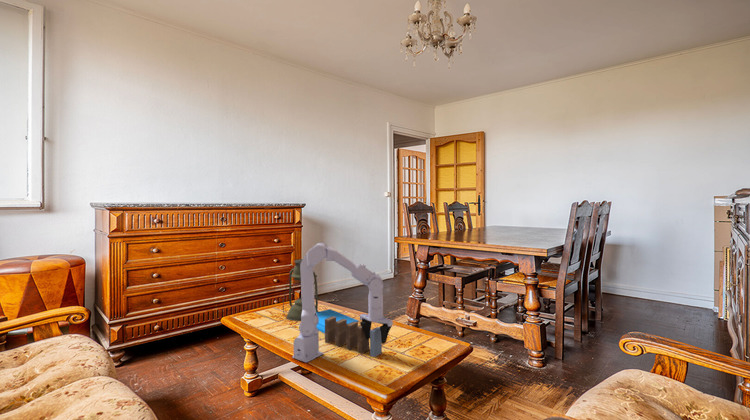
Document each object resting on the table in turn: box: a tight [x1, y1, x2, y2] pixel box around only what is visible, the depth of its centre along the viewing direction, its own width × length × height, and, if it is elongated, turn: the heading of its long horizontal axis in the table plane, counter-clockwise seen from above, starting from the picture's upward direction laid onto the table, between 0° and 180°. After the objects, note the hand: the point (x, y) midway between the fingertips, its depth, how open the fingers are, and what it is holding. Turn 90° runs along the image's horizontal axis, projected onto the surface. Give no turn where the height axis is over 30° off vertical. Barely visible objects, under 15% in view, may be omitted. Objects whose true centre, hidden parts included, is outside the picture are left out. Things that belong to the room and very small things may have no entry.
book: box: [316, 308, 360, 335], centre depth 173 cm, size 17×4×25 cm
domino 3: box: [345, 321, 359, 351], centre depth 146 cm, size 2×5×10 cm, turn 145°
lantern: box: [282, 258, 319, 322], centre depth 188 cm, size 21×18×30 cm
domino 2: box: [334, 319, 347, 348], centre depth 149 cm, size 2×5×10 cm, turn 145°
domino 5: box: [369, 326, 383, 358], centre depth 139 cm, size 2×5×10 cm, turn 144°
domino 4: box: [357, 325, 370, 354], centre depth 143 cm, size 2×5×10 cm, turn 145°
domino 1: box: [324, 316, 336, 344], centre depth 153 cm, size 2×5×10 cm, turn 145°
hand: (375, 340), depth 139 cm, fingers open, 7 cm apart
